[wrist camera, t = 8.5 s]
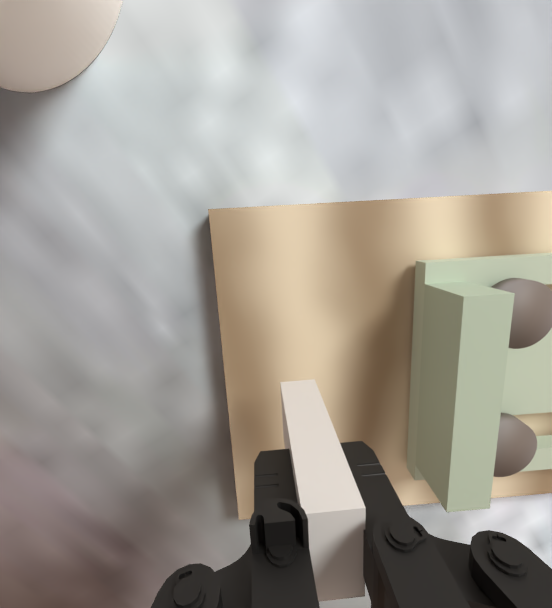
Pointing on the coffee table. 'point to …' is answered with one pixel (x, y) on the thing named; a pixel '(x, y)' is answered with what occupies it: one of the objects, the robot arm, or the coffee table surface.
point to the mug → (51, 40)
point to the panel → (518, 360)
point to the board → (363, 320)
